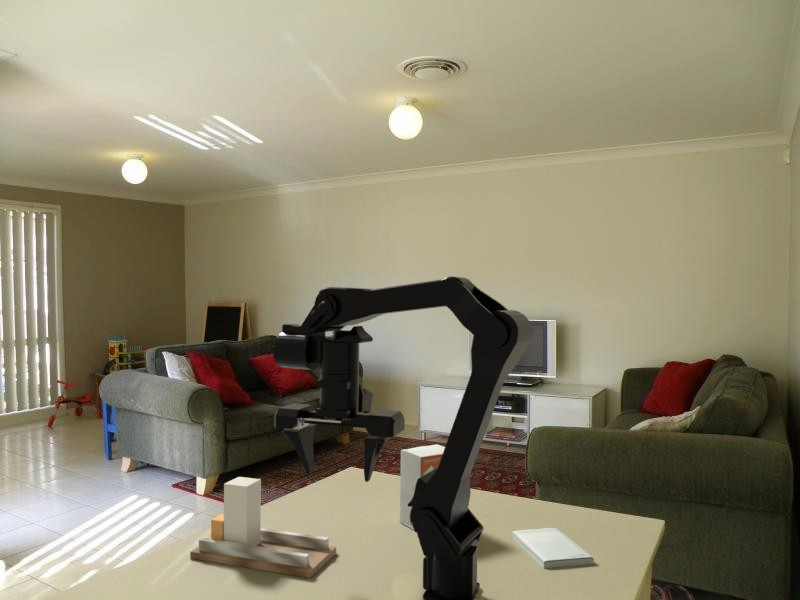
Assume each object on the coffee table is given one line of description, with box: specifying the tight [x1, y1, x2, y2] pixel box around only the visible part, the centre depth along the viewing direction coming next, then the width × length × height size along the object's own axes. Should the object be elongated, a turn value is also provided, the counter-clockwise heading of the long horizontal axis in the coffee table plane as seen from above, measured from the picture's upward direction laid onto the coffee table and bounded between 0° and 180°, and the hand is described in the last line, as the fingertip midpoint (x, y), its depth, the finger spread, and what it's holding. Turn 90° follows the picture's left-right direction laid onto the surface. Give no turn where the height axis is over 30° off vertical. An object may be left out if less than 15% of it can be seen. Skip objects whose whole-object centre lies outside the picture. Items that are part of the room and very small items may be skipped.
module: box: [223, 476, 262, 546], centre depth 97 cm, size 4×4×10 cm
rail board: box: [189, 527, 337, 579], centre depth 96 cm, size 20×9×3 cm, turn 72°
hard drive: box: [510, 527, 595, 569], centre depth 100 cm, size 2×8×12 cm
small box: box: [399, 443, 445, 531], centre depth 110 cm, size 8×6×13 cm
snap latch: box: [210, 512, 224, 541], centre depth 98 cm, size 2×4×4 cm, turn 162°
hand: (338, 477), depth 93 cm, fingers open, 9 cm apart
